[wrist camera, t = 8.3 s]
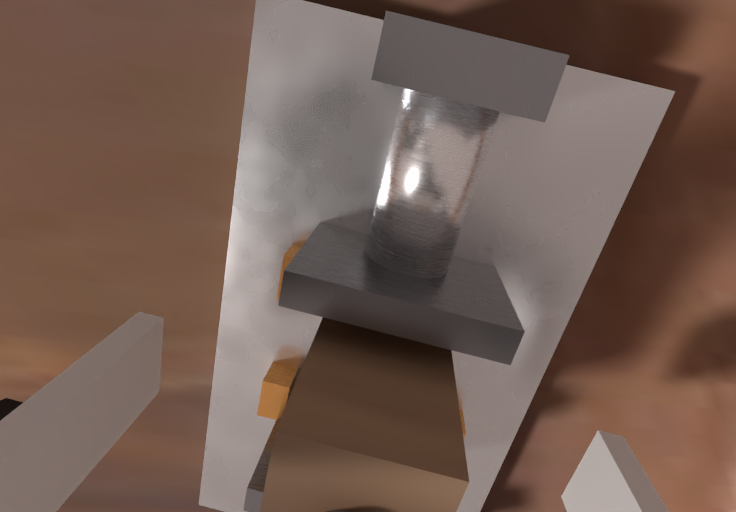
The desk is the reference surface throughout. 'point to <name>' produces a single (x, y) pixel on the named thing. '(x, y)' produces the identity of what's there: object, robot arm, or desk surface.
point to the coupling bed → (341, 183)
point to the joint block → (369, 428)
